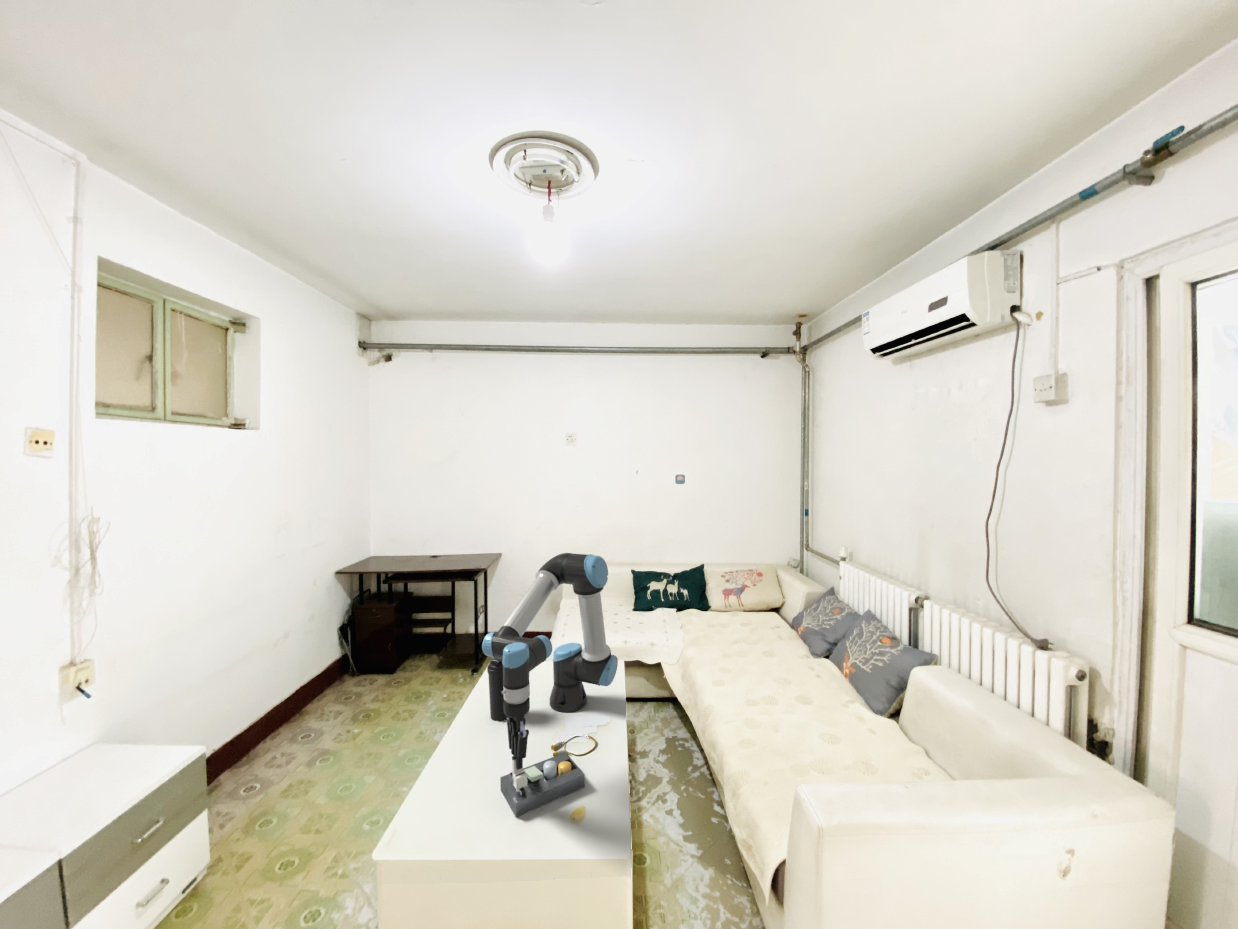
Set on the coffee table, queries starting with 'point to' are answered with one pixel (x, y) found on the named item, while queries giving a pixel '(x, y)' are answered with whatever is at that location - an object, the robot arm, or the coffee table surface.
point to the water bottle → (496, 689)
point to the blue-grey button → (550, 770)
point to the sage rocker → (533, 773)
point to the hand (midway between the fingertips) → (517, 777)
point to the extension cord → (558, 745)
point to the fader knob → (520, 779)
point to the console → (542, 787)
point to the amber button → (564, 767)
